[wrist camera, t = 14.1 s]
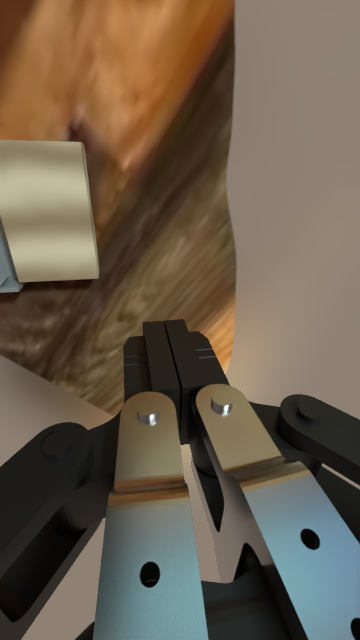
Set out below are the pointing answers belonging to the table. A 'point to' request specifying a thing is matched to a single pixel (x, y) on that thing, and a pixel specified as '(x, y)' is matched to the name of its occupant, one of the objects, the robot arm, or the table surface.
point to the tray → (8, 265)
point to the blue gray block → (3, 269)
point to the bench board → (47, 210)
